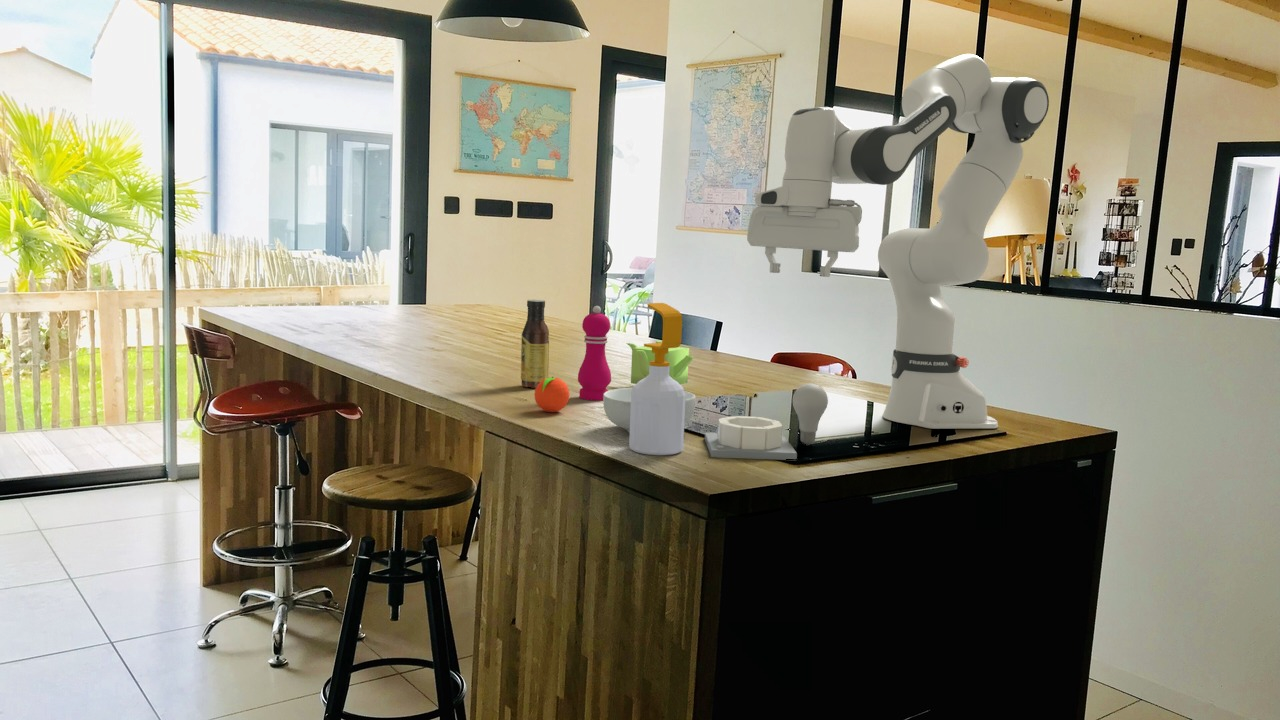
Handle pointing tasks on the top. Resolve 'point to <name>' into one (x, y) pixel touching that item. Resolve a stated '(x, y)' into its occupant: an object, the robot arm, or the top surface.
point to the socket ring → (749, 432)
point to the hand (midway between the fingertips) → (799, 274)
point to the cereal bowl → (620, 406)
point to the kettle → (675, 357)
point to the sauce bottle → (534, 346)
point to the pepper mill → (595, 357)
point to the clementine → (551, 394)
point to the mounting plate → (748, 450)
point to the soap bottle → (659, 396)
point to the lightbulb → (809, 410)
